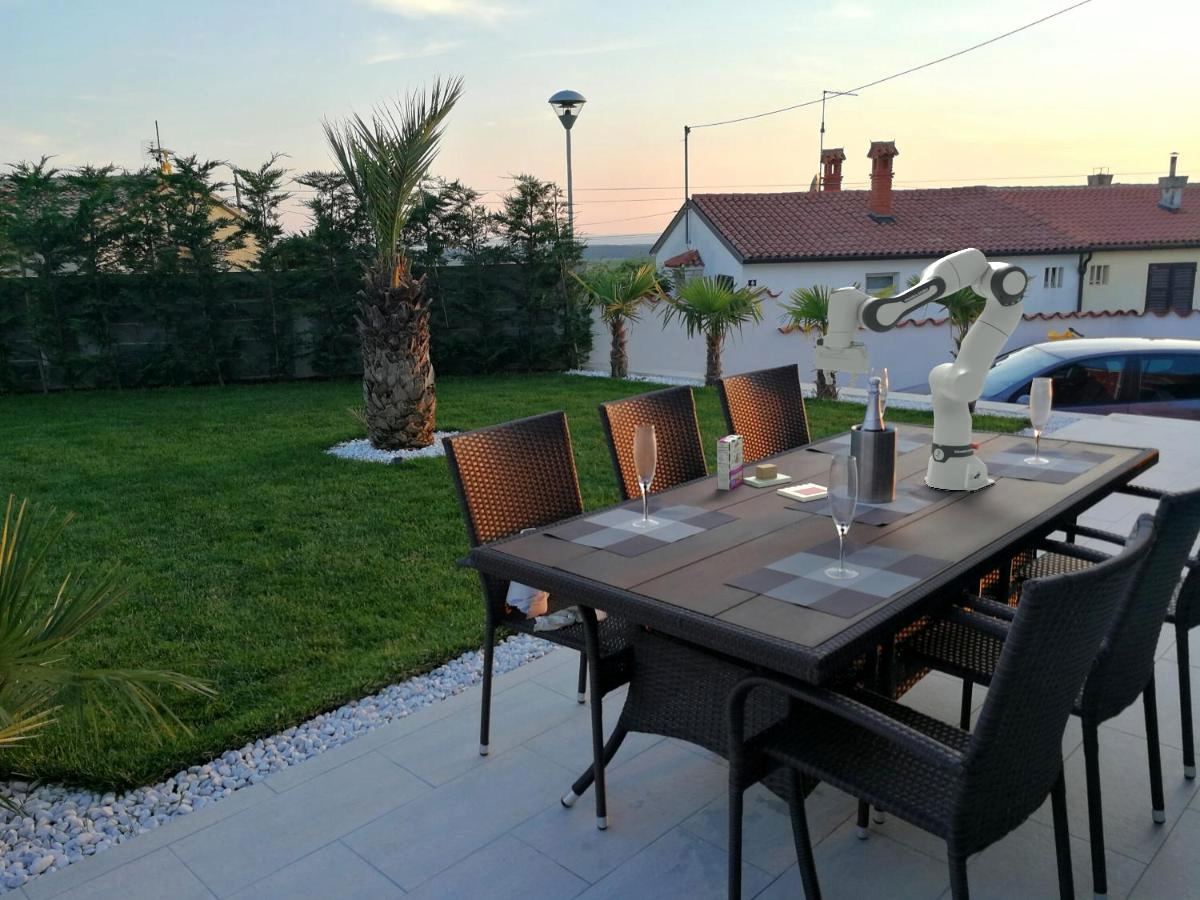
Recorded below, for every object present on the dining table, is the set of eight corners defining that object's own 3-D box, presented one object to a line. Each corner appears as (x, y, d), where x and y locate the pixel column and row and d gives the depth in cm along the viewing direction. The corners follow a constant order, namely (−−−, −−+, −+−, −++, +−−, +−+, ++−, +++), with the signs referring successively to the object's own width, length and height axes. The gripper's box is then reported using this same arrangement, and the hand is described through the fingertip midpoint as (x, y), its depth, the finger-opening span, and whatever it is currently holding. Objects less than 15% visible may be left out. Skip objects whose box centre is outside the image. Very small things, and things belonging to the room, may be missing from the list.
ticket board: (810, 487, 273) (810, 482, 273) (837, 495, 263) (837, 490, 263) (777, 494, 267) (777, 489, 266) (803, 502, 256) (803, 497, 256)
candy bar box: (729, 481, 284) (729, 434, 281) (743, 483, 281) (743, 435, 278) (716, 489, 275) (716, 440, 271) (730, 491, 272) (730, 441, 269)
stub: (775, 476, 288) (775, 461, 287) (791, 481, 281) (791, 465, 280) (743, 482, 281) (743, 466, 280) (758, 487, 274) (758, 471, 273)
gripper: (875, 342, 250) (873, 388, 253) (825, 338, 267) (824, 381, 270) (859, 343, 247) (858, 390, 250) (810, 339, 264) (809, 383, 267)
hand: (840, 385), depth 260 cm, fingers open, 8 cm apart
